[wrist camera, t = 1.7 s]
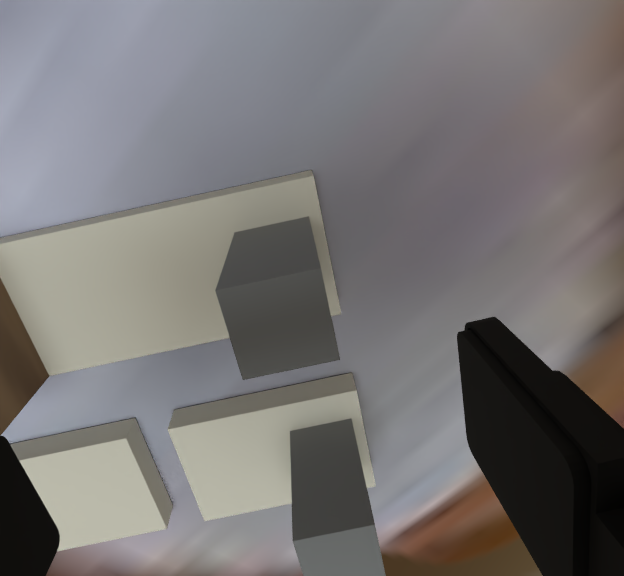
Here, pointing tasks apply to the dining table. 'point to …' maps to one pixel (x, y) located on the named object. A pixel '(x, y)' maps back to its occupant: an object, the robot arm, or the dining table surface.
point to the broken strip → (225, 473)
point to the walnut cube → (16, 362)
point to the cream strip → (182, 280)
